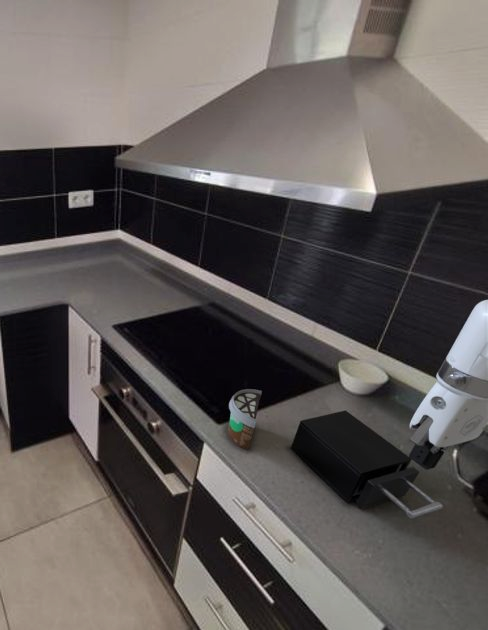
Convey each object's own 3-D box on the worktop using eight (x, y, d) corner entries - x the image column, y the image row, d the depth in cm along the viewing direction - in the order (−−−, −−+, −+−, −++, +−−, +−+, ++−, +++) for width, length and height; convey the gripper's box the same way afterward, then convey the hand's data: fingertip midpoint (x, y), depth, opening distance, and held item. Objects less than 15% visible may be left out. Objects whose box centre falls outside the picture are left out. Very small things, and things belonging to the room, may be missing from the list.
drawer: (439, 523, 71) (456, 499, 67) (392, 539, 68) (407, 514, 65) (345, 445, 87) (355, 423, 84) (304, 456, 85) (313, 433, 82)
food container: (227, 413, 99) (235, 382, 94) (253, 421, 96) (262, 389, 91) (218, 444, 89) (226, 411, 84) (246, 454, 86) (256, 421, 82)
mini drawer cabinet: (394, 488, 78) (412, 459, 74) (346, 503, 75) (361, 473, 71) (333, 437, 91) (345, 410, 87) (290, 448, 88) (300, 420, 84)
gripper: (466, 402, 53) (410, 490, 62) (537, 385, 57) (476, 470, 65) (410, 371, 60) (367, 455, 68) (478, 358, 63) (429, 439, 72)
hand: (420, 462), depth 67 cm, fingers closed
